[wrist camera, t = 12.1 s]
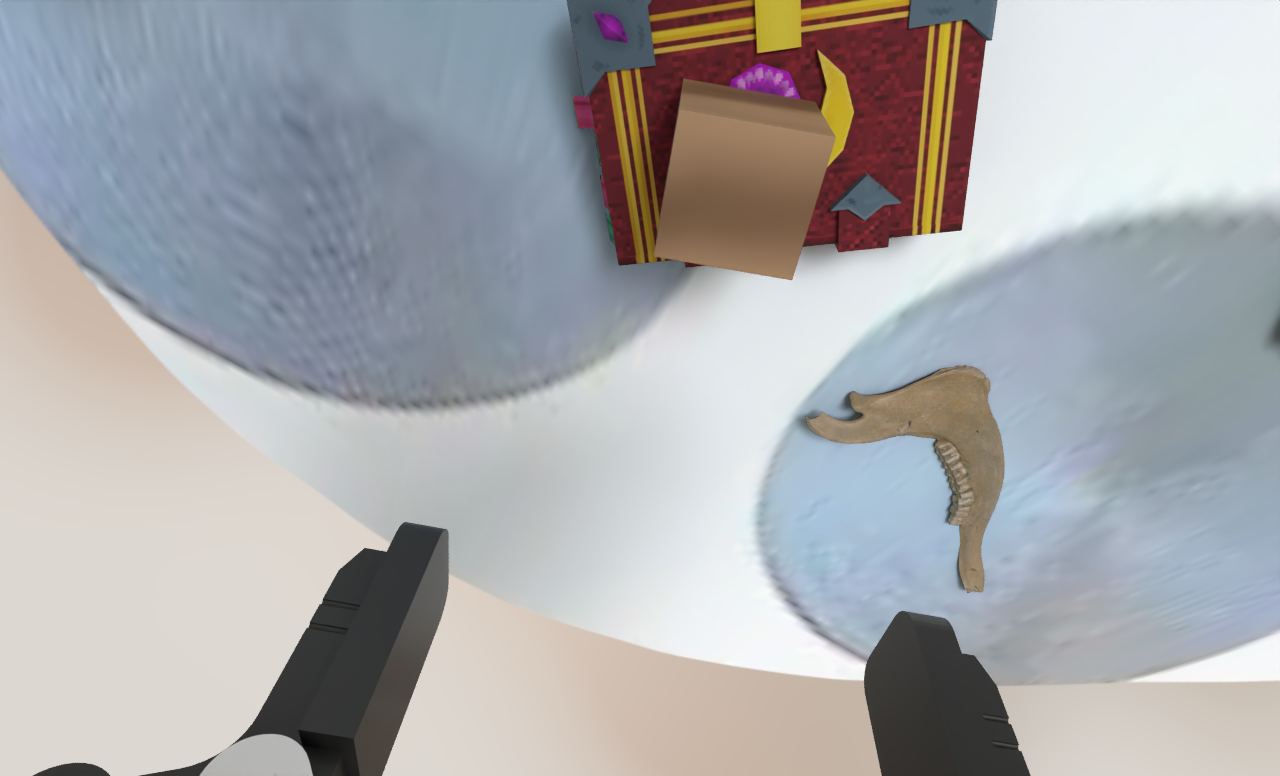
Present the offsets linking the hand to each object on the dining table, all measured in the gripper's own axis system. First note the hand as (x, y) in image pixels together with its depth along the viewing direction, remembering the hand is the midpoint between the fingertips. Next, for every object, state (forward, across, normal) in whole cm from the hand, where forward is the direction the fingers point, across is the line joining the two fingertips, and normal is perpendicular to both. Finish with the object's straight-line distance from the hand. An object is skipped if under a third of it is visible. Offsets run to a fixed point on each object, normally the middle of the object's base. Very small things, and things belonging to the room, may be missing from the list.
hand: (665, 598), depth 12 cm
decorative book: (+25, -2, -4) cm, 25 cm away
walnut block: (+20, -1, -2) cm, 20 cm away
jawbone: (+25, -17, +17) cm, 35 cm away
